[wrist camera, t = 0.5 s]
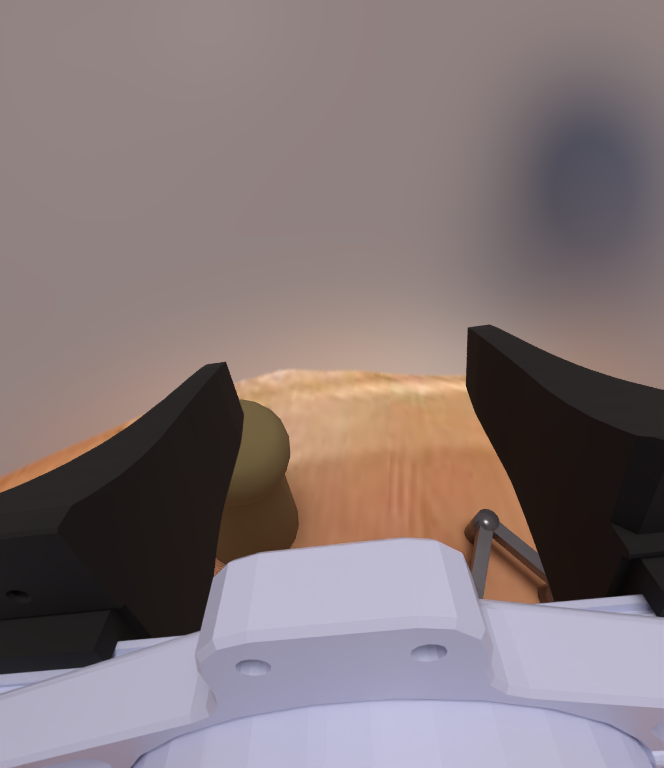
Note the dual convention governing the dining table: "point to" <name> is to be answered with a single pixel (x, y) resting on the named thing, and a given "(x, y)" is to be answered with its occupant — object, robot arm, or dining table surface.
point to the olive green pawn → (258, 490)
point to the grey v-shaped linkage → (490, 527)
